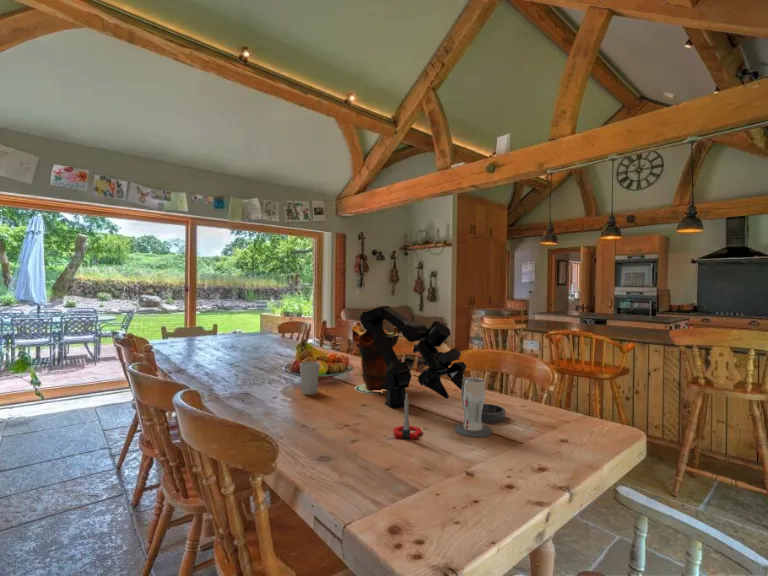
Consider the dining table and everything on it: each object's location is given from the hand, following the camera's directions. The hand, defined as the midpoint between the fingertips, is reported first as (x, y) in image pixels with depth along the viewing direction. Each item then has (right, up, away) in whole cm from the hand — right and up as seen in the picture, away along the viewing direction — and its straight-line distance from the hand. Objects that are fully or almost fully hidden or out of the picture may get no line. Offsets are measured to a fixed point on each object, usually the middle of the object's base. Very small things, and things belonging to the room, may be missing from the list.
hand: (457, 395), depth 123 cm
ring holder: (+12, -9, +7) cm, 17 cm away
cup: (-54, -10, +38) cm, 67 cm away
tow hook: (-16, -10, -7) cm, 20 cm away
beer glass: (+4, -9, -4) cm, 11 cm away
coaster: (+4, -10, -4) cm, 11 cm away
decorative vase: (-27, -10, +45) cm, 53 cm away
